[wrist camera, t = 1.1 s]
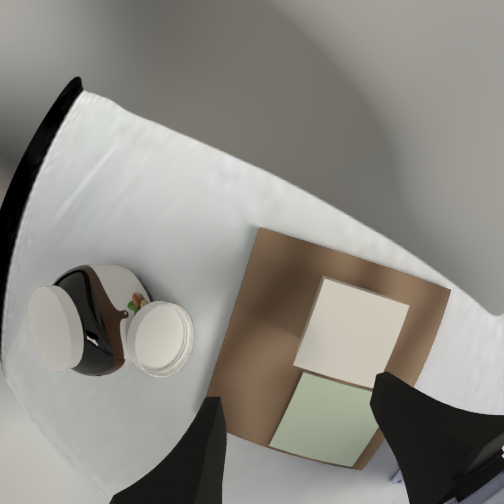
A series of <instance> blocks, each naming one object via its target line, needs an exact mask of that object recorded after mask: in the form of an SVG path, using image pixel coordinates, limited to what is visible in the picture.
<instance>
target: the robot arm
mask: <svg viewBox="0 0 504 504" xmlns="http://www.w3.org/2000/svg"><path fill="white" fill-rule="evenodd" d="M370 407H371V410H372V413H373V415H374V418H375V420H376V422H377V424H378V426H379V428H380V430H381V431H382V433H383V435H384V437H385V438H386V440H387V442H388V444H389V446H390V447H391V449H392V451H393V453H394V455H395V457H396V460H397V462H398V465H399V468H400V470H399V471H398V473H397V474H396V475H395V476H394V478H393V479H392V483H393V484H405V486H406V490H407V494H408V498H409V503H410V504H504V458H503V457H502V455H503V454H504V451H503V450H502V449H501V448H502V447H503V445H504V415H487V414H480V413H474V412H469V411H466V410H462V409H458V408H455V407H452V406H450V405H447V404H444V403H442V402H440V401H437V400H435V399H433V398H431V397H429V396H427V395H426V394H424V393H422V392H420V391H418V390H417V389H415V388H413V387H412V386H410V385H409V384H407V383H405V382H404V381H402V380H401V379H399V378H397V377H396V376H394V375H393V374H391V373H389V372H388V371H386V372H383V373H379V374H376V378H375V382H374V387H373V391H372V395H371V400H370ZM226 445H227V433H226V421H225V417H224V412H223V407H222V402H221V397H220V396H218V397H206V398H205V399H204V401H203V403H202V405H201V407H200V409H199V411H198V413H197V415H196V417H195V418H194V420H193V422H192V423H191V425H190V427H189V428H188V430H187V431H186V433H185V434H184V435H183V437H182V438H181V440H180V441H179V442H178V444H177V445H176V446H175V447H174V448H173V450H172V451H171V452H170V453H169V454H168V455H167V456H166V457H165V458H164V459H163V460H162V461H161V462H160V463H159V464H158V465H157V466H156V467H155V468H154V469H153V470H152V471H150V472H149V473H148V474H146V475H145V476H144V477H142V478H141V479H140V480H138V481H137V482H136V483H134V484H133V485H131V486H129V487H128V488H126V489H124V490H122V491H121V492H119V493H117V494H115V495H113V497H112V500H111V501H110V503H109V504H222V481H223V472H224V463H225V454H226ZM399 480H400V481H399Z"/></svg>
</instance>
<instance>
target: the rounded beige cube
mask: <svg viewBox="0 0 504 504" xmlns="http://www.w3.org/2000/svg"><path fill="white" fill-rule="evenodd" d="M408 309H409V305H407V304H404V303H402V302H400V301H397V300H395V299H393V298H390V297H388V296H386V295H383V294H380V293H377V292H374V291H370V290H367V289H364V288H361V287H358V286H355V285H352V284H349V283H346V282H342V281H339V280H336V279H333V278H330V277H327V276H324V275H322V278H321V281H320V285H319V288H318V291H317V293H316V296H315V299H314V302H313V305H312V308H311V311H310V314H309V316H308V319H307V322H306V325H305V328H304V330H303V333H302V336H301V338H300V342H299V346H298V349H297V353H296V356H295V360H294V364H293V365H294V366H297V367H300V368H303V369H307V370H310V371H313V372H316V373H319V374H323V375H326V376H329V377H333V378H336V379H340V380H343V381H347V382H350V383H354V384H358V385H362V386H365V387H369V388H373V387H374V382H375V378H376V374H379V373H383V371H384V369H385V367H386V365H387V362H388V360H389V358H390V356H391V353H392V351H393V348H394V346H395V344H396V341H397V339H398V336H399V333H400V331H401V328H402V325H403V323H404V320H405V317H406V314H407V312H408Z"/></svg>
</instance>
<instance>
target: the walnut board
mask: <svg viewBox="0 0 504 504" xmlns="http://www.w3.org/2000/svg"><path fill="white" fill-rule="evenodd" d="M322 275H324V276H327V277H330V278H333V279H336V280H339V281H342V282H346V283H349V284H352V285H355V286H358V287H361V288H364V289H367V290H370V291H374V292H377V293H380V294H383V295H386V296H388V297H390V298H393V299H395V300H397V301H400V302H402V303H404V304H407V305H409V309H408V312H407V314H406V317H405V320H404V323H403V325H402V328H401V331H400V333H399V336H398V339H397V341H396V344H395V346H394V348H393V351H392V353H391V356H390V358H389V360H388V362H387V365H386V367H385V369H384V371H383V372H386V371H388V372H389V373H391V374H393V375H394V376H396V377H397V378H399V379H401V380H402V381H404V382H405V383H407V384H409V385H410V386H412V387H414V385H415V383H416V381H417V379H418V377H419V375H420V373H421V371H422V368H423V366H424V364H425V362H426V359H427V357H428V355H429V352H430V350H431V347H432V345H433V342H434V340H435V337H436V335H437V332H438V329H439V326H440V324H441V321H442V318H443V315H444V312H445V309H446V306H447V302H448V299H449V296H450V292H451V290H450V289H448V288H445V287H442V286H439V285H436V284H434V283H431V282H428V281H425V280H422V279H419V278H416V277H413V276H411V275H408V274H405V273H402V272H399V271H396V270H393V269H390V268H387V267H384V266H381V265H378V264H375V263H372V262H369V261H366V260H363V259H360V258H357V257H354V256H350V255H347V254H344V253H341V252H338V251H335V250H332V249H329V248H325V247H322V246H319V245H316V244H313V243H309V242H306V241H303V240H300V239H297V238H293V237H290V236H287V235H283V234H280V233H277V232H274V231H270V230H267V229H263V228H259V231H258V234H257V237H256V240H255V243H254V247H253V250H252V253H251V256H250V259H249V262H248V266H247V269H246V272H245V275H244V278H243V281H242V285H241V288H240V291H239V294H238V297H237V300H236V304H235V307H234V310H233V313H232V316H231V319H230V323H229V326H228V329H227V332H226V335H225V338H224V342H223V345H222V348H221V351H220V354H219V357H218V361H217V364H216V367H215V370H214V373H213V376H212V380H211V383H210V386H209V389H208V392H207V395H206V397H218V396H220V397H221V402H222V407H223V412H224V417H225V421H226V432H228V433H230V434H232V435H235V436H237V437H240V438H243V439H245V440H248V441H251V442H253V443H256V444H259V445H262V446H265V447H268V448H271V449H274V450H277V451H280V452H283V453H287V454H290V455H294V456H297V457H301V458H305V459H309V460H313V461H317V462H321V463H325V464H330V465H335V466H340V467H345V468H351V469H357V470H363V468H364V467H365V466H366V464H367V463H368V461H369V460H370V459H371V457H372V456H373V454H374V453H375V452H376V450H377V449H378V447H379V446H380V444H381V443H382V441H383V440H384V438H385V437H384V435H383V433H382V431H381V430H380V428H379V427H378V429H377V430H376V432H375V433H374V435H373V437H372V438H371V440H370V441H369V443H368V444H367V446H366V447H365V449H364V450H363V452H362V453H361V455H360V456H359V458H358V459H357V460H356V462H355V463H354V465H353V466H352V467H350V466H344V465H339V464H334V463H329V462H325V461H320V460H316V459H312V458H308V457H304V456H301V455H297V454H293V453H290V452H287V451H283V450H280V449H277V448H274V447H271V446H269V444H270V442H271V440H272V438H273V436H274V434H275V432H276V430H277V428H278V426H279V424H280V422H281V420H282V418H283V416H284V414H285V412H286V410H287V408H288V405H289V403H290V401H291V399H292V397H293V394H294V392H295V390H296V388H297V385H298V383H299V381H300V379H301V376H302V374H303V371H305V372H308V373H311V374H314V375H317V376H321V377H324V378H327V379H331V380H334V381H338V382H341V383H345V384H348V385H352V386H356V387H360V388H364V389H368V390H372V391H373V388H369V387H365V386H362V385H358V384H354V383H350V382H347V381H343V380H340V379H336V378H333V377H329V376H326V375H323V374H319V373H316V372H313V371H310V370H307V369H303V368H300V367H297V366H294V365H293V364H294V360H295V356H296V353H297V349H298V346H299V342H300V338H301V336H302V333H303V330H304V328H305V325H306V322H307V319H308V316H309V314H310V311H311V308H312V305H313V302H314V299H315V296H316V293H317V291H318V288H319V285H320V281H321V278H322Z"/></svg>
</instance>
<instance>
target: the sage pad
mask: <svg viewBox="0 0 504 504" xmlns="http://www.w3.org/2000/svg"><path fill="white" fill-rule="evenodd" d="M371 395H372V390H368V389H364V388H360V387H356V386H352V385H348V384H345V383H341V382H338V381H334V380H331V379H327V378H324V377H321V376H317V375H314V374H311V373H308V372H305V371H303V374H302V376H301V379H300V381H299V383H298V385H297V388H296V390H295V392H294V394H293V397H292V399H291V401H290V403H289V405H288V408H287V410H286V412H285V414H284V416H283V418H282V420H281V422H280V424H279V426H278V428H277V430H276V432H275V434H274V436H273V438H272V440H271V442H270V444H269V446H271V447H274V448H277V449H280V450H283V451H287V452H290V453H293V454H297V455H301V456H304V457H308V458H312V459H316V460H320V461H325V462H329V463H334V464H339V465H344V466H350V467H352V466H353V465H354V463H355V462H356V460H357V459H358V458H359V456H360V455H361V453H362V452H363V450H364V449H365V447H366V446H367V444H368V443H369V441H370V440H371V438H372V437H373V435H374V433H375V432H376V430H377V429H378V427H379V426H378V424H377V422H376V420H375V418H374V415H373V413H372V410H371V407H370V400H371Z"/></svg>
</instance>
